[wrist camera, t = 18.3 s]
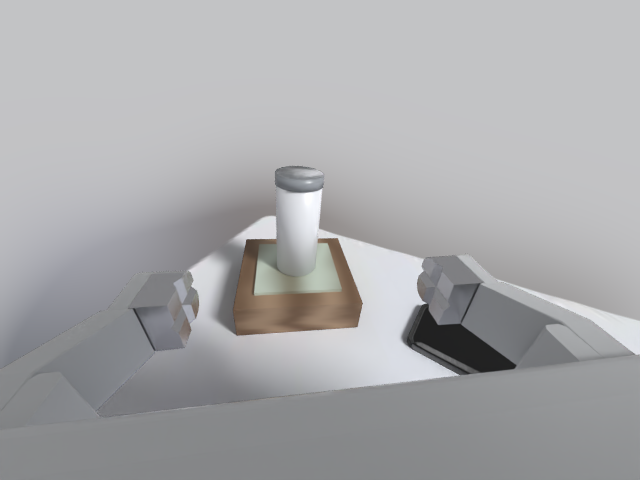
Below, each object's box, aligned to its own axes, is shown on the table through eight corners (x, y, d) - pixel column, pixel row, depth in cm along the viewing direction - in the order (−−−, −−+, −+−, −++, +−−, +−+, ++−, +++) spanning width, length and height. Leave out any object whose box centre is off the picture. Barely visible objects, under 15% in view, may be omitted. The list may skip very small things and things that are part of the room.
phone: (575, 431, 22) (406, 340, 29) (568, 437, 22) (403, 346, 29) (563, 362, 28) (424, 300, 34) (557, 368, 28) (422, 306, 35)
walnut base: (335, 258, 42) (337, 236, 40) (357, 327, 31) (363, 300, 28) (248, 260, 40) (246, 237, 38) (236, 335, 28) (232, 307, 26)
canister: (313, 252, 36) (320, 167, 30) (319, 276, 31) (328, 181, 25) (275, 253, 35) (274, 165, 29) (276, 277, 30) (275, 179, 24)
